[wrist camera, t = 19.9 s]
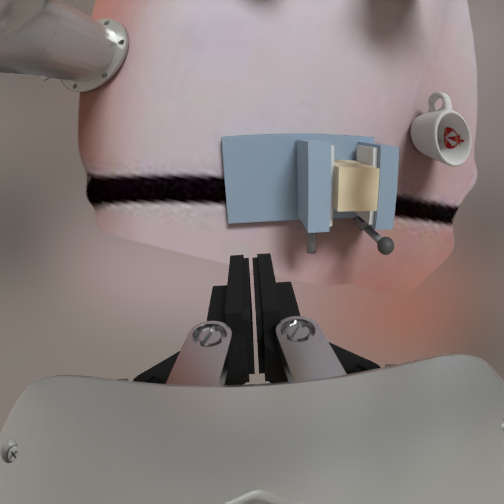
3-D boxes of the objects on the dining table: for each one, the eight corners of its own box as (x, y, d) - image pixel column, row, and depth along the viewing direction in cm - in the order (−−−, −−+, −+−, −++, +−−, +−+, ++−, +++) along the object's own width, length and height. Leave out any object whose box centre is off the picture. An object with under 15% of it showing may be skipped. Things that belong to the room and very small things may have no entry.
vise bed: (230, 234, 40) (225, 268, 30) (222, 136, 34) (213, 138, 24) (365, 227, 40) (396, 256, 30) (370, 137, 34) (408, 142, 24)
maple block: (319, 194, 36) (337, 211, 29) (319, 159, 34) (339, 167, 27) (352, 194, 36) (376, 210, 29) (353, 160, 34) (379, 168, 27)
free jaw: (297, 241, 39) (306, 263, 33) (296, 139, 33) (307, 141, 26) (318, 240, 39) (331, 261, 33) (320, 140, 33) (336, 142, 26)
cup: (402, 89, 30) (432, 84, 23) (439, 98, 30) (470, 97, 23) (403, 156, 35) (434, 164, 27) (440, 160, 35) (471, 169, 27)
